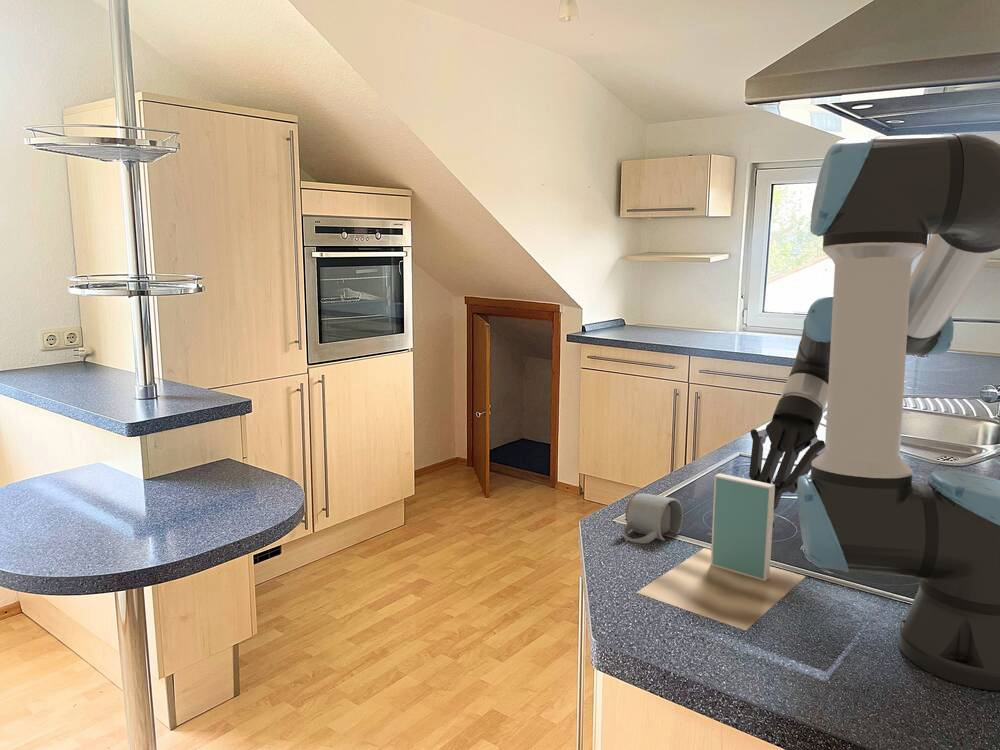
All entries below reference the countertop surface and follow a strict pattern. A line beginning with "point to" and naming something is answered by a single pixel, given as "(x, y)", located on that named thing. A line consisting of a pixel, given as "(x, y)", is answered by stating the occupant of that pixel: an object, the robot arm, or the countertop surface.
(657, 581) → the cork mat
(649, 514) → the ceramic mug
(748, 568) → the ceramic tile
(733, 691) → the countertop surface
